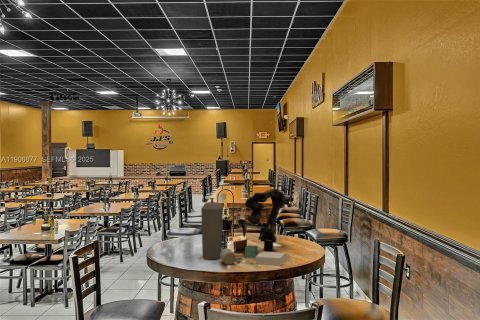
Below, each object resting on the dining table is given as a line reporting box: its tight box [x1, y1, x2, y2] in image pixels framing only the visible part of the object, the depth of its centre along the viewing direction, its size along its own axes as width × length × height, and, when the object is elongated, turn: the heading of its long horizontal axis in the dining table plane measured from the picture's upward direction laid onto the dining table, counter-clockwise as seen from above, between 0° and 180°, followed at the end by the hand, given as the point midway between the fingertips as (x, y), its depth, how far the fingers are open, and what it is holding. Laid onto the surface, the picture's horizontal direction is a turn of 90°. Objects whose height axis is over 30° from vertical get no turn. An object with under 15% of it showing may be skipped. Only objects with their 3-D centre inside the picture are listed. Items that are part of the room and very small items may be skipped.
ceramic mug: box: [219, 248, 241, 266], centre depth 238 cm, size 11×8×8 cm
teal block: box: [244, 245, 259, 259], centre depth 254 cm, size 6×6×6 cm
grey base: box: [254, 250, 287, 267], centre depth 241 cm, size 14×14×4 cm
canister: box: [200, 197, 224, 261], centre depth 251 cm, size 13×13×35 cm
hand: (251, 238), depth 251 cm, fingers open, 9 cm apart
